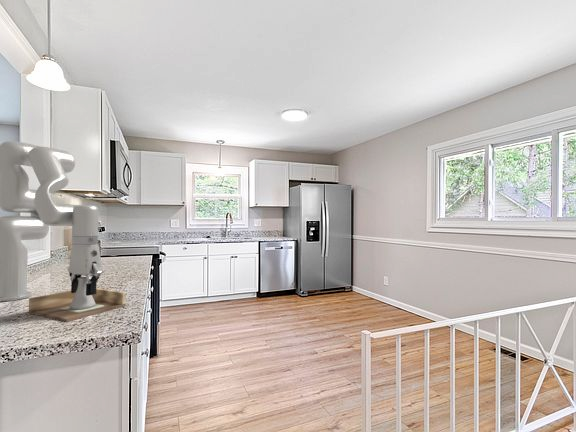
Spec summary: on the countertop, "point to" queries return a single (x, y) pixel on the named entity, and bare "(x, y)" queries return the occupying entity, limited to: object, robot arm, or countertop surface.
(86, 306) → the flask
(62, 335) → the countertop surface
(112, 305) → the tray
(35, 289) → the countertop surface
